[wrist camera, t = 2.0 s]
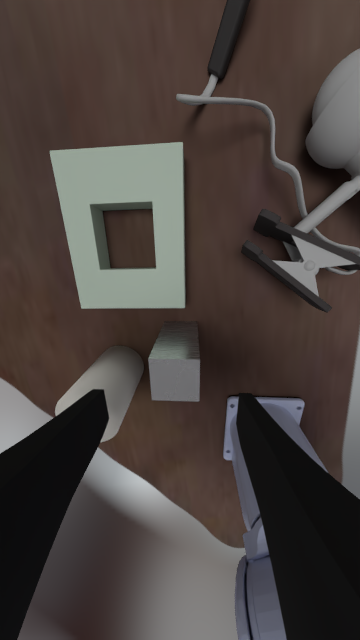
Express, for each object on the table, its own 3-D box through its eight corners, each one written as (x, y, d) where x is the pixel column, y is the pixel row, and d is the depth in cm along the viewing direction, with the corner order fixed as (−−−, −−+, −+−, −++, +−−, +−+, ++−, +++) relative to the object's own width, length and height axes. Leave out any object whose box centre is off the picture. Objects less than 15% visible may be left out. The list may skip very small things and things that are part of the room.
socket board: (185, 302, 17) (184, 307, 15) (93, 302, 18) (81, 308, 16) (184, 157, 14) (182, 142, 12) (68, 164, 14) (49, 150, 12)
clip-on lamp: (160, 163, 16) (295, 313, 16) (117, 100, 10) (330, 336, 10) (276, -3, 12) (465, 197, 12) (315, -270, 6) (701, 117, 6)
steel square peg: (197, 350, 19) (199, 401, 12) (166, 350, 19) (151, 400, 12) (197, 321, 18) (199, 359, 11) (164, 321, 18) (148, 358, 11)
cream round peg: (145, 384, 21) (123, 444, 14) (104, 382, 21) (63, 441, 14) (141, 345, 19) (114, 392, 12) (97, 345, 19) (48, 390, 13)
